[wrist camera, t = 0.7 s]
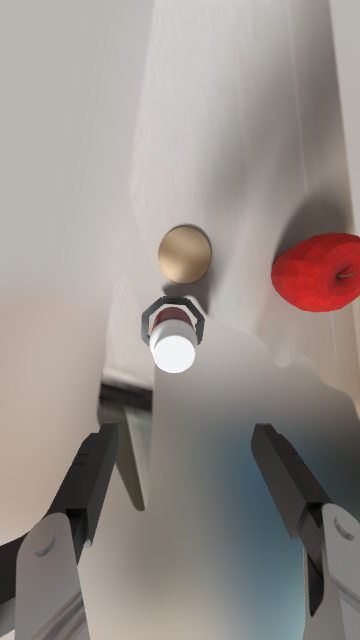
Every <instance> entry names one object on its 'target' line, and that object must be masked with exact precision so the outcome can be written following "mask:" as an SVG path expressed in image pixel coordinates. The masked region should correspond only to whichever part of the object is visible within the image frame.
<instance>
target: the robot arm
mask: <svg viewBox="0 0 360 640" xmlns="http://www.w3.org/2000/svg"><path fill="white" fill-rule="evenodd" d="M118 445H119V432H118V422H103V424H102V426H101V428H100V430H99V433H91V434H90V435H89V436H88V437H87V438H86V439H85V440H84V441H83V443H82V444H81V447H80V448H79V450H78V452H77V455H76V456H75V458H74V460H73V462H72V465H71V467H70V468H69V470H68V472H67V474H66V476H65V478H64V480H63V482H62V484H61V486H60V489H59V490H58V492H57V494H56V496H55V498H54V500H53V502H52V504H51V506H50V508H49V510H48V511H47V513H46V514H45V516H44V517H43V518H42V519H41V520H40V521H39V522H38V523H37V524H36V525H35V526H34V527H33V528H32V529H31V530H30V531H29V532H28V533H26V534H25V535H23V536H22V537H20V538H18V539H16V540H13V541H11V542H9V543H6V544H4V545H2V546H0V637H2V636H4V635H5V634H7V633H9V632H10V631H12V630H13V629H15V640H90V636H89V631H88V626H87V619H86V613H85V608H84V602H83V598H82V592H81V586H80V580H79V575H78V569H77V565H78V563H79V559H80V556H81V553H82V550H83V548H84V547H91V545H92V542H93V538H94V535H95V531H96V528H97V524H98V520H99V517H100V513H101V509H102V506H103V503H104V499H105V495H106V491H107V488H108V485H109V481H110V478H111V474H112V471H113V467H114V463H115V460H116V456H117V452H118ZM251 450H252V454H253V456H254V459H255V461H256V463H257V465H258V467H259V469H260V472H261V474H262V476H263V478H264V481H265V483H266V485H267V487H268V489H269V491H270V494H271V496H272V498H273V500H274V502H275V505H276V507H277V509H278V511H279V513H280V515H281V518H282V520H283V522H284V524H285V527H286V529H287V531H288V533H289V535H290V538H301V540H302V542H303V544H304V589H305V627H304V632H303V639H302V640H360V524H359V523H358V522H357V521H356V520H355V519H354V517H353V516H351V515H350V514H349V513H348V512H347V511H345V510H344V509H342V508H341V507H339V506H337V505H335V504H334V503H333V502H332V501H331V499H330V498H329V497H328V495H327V494H326V492H325V491H324V490H323V488H322V487H321V485H320V484H319V482H318V481H317V480H316V478H315V477H314V475H313V474H312V473H311V471H310V470H309V468H308V467H307V466H306V464H304V461H303V460H302V458H301V457H300V456H299V455H298V453H297V452H296V450H295V449H294V447H293V446H292V445H291V443H290V442H289V441H288V440H287V439H286V438H285V437H284V436H282V435H281V434H277V432H276V431H275V429H274V428H273V426H272V425H271V424H269V423H267V424H265V423H263V424H262V423H257V424H256V425H255V428H254V433H253V436H252V440H251Z"/></svg>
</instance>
